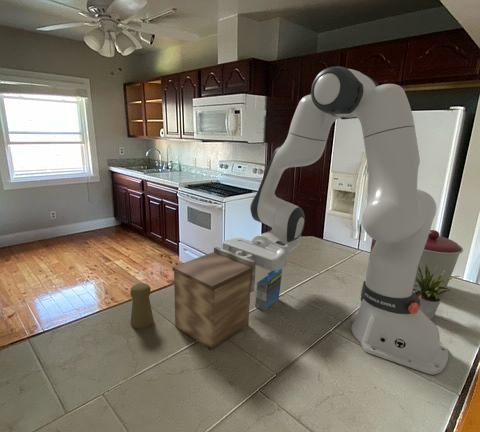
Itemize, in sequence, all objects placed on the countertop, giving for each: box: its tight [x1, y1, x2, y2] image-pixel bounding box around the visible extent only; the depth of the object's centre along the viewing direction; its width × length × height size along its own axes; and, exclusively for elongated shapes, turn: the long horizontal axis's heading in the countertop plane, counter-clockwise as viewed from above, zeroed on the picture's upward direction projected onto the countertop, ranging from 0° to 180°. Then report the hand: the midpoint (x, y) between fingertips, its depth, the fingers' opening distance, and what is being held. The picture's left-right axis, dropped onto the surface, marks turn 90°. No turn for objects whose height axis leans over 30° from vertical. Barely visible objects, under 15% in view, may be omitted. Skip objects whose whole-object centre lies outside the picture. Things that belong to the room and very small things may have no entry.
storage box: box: [173, 271, 251, 351], centre depth 83 cm, size 14×14×16 cm
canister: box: [413, 229, 464, 294], centre depth 109 cm, size 18×18×21 cm
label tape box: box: [254, 268, 283, 312], centre depth 95 cm, size 9×4×12 cm, turn 146°
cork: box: [129, 282, 154, 330], centre depth 84 cm, size 6×6×11 cm
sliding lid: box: [171, 246, 257, 293], centre depth 81 cm, size 14×16×9 cm
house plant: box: [413, 263, 460, 320], centre depth 93 cm, size 14×14×16 cm
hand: (235, 260), depth 87 cm, fingers closed, pressing on sliding lid
